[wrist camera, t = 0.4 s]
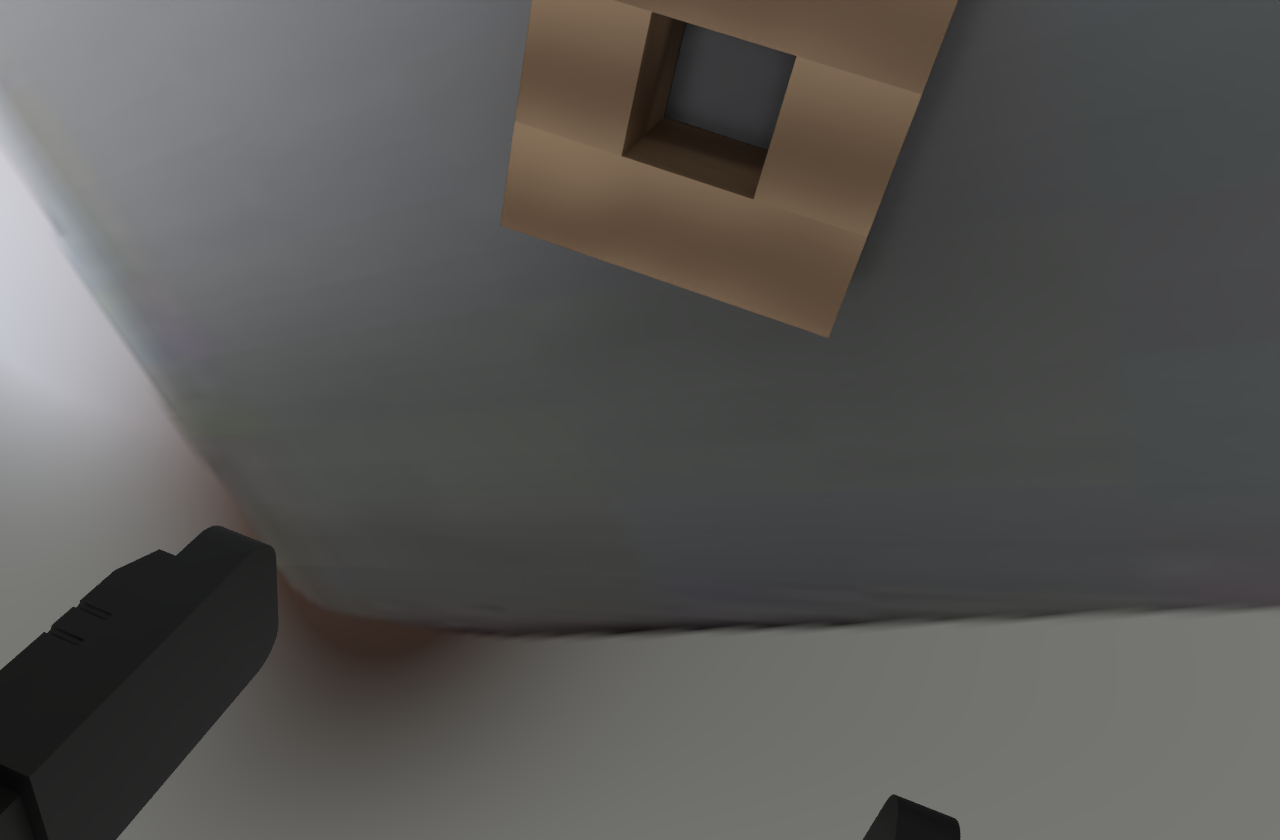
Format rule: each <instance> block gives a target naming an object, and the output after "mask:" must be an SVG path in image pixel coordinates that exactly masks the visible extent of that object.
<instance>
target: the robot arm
mask: <svg viewBox="0 0 1280 840" xmlns="http://www.w3.org/2000/svg"><path fill="white" fill-rule="evenodd" d="M277 632H278V597H277V570H276V553H275V551H274V549H273V547H271V546H270V545H267V544H265V543H262V542H260V541H257V540H255V539H252V538H250V537H247V536H244V535H242V534H239V533H237V532H234V531H232V530H229V529H227V528H224V527H222V526H212V527H210V528H207V529H206V530H204V531H203V532H202V533H200V534H199V535H198V536H197V537H196V538H195V539H194V540H193V541H192V542H190V544H188V545H187V546H186V547H185V548H184V549H183V550H182V551H181V552H180V553H179V554H177V555H176V556H175V555H172V554H170V553H167V552H165V551H162V550H160V549H159V550H157V551H155V552H153V553H151V554H149V555H147V556H144V557H142V558H140V559H138V560H136V561H134V562H132V563H129V564H127V565H125V566H123V567H121V568H119V569H117V570H115V571H114V572H112V573H111V574H110V575H109V576H108V577H107V578H105V579H104V580H103V581H102V582H101V583H100V584H99V585H97V586H96V587H95V588H94V589H93V590H92V591H91V592H90V593H88V594H87V595H86V596H85V597H84V598H83V599H81V600H80V604H79V605H78V606H77V607H76V608H75V607H72V608H71V609H70V610H69V611H68V612H67V613H65V614H64V615H63V616H62V617H61V618H60V619H58V621H56V622H55V623H54V624H53V625H52V627H51V630H50V631H49V632H48V633H45V632H44V633H43V634H41V635H40V636H39V637H38V638H37V639H36V640H35V641H33V642H32V643H31V644H30V645H29V646H28V647H27V648H25V649H24V650H23V651H22V652H21V653H20V654H18V655H17V656H16V657H15V658H14V659H13V660H12V661H10V662H9V663H8V664H7V665H6V666H5V667H4V668H2V669H1V670H0V840H116V839H117V838H118V836H119V835H120V834H121V833H122V832H123V831H124V829H125V828H126V827H127V826H128V825H129V824H130V822H131V821H132V820H133V819H134V818H135V816H136V815H137V814H138V813H139V812H140V810H141V809H142V808H143V807H144V806H145V805H146V804H147V802H148V801H149V800H150V799H151V798H152V796H153V795H154V794H155V793H156V792H157V791H158V789H159V788H160V787H161V786H162V785H163V783H164V782H165V781H166V780H167V779H168V777H169V776H170V775H171V774H172V773H173V772H174V771H175V769H176V768H177V767H178V766H179V765H180V763H181V762H182V761H183V760H184V759H185V758H186V756H187V755H188V754H189V753H190V752H191V750H192V749H193V748H194V747H195V746H196V744H197V743H198V742H199V741H200V740H201V739H202V737H203V736H204V735H205V734H206V733H207V731H208V730H209V729H210V728H211V727H212V726H213V724H214V723H215V722H216V721H217V720H218V719H219V717H220V716H221V715H222V714H223V713H224V711H225V710H226V709H227V708H228V707H229V706H230V704H231V703H232V702H233V701H234V700H235V699H236V697H237V696H238V695H239V694H240V692H241V691H242V690H243V689H244V688H245V687H246V686H247V684H248V683H249V682H250V680H252V678H253V677H254V676H255V675H256V674H257V672H258V671H259V670H260V668H261V667H262V666H263V664H264V663H265V661H266V659H267V658H268V656H269V654H270V652H271V650H272V647H273V645H274V642H275V639H276V636H277ZM863 840H960V827H959V823H958V821H957V820H956V819H955V818H953V817H950V816H948V815H945V814H943V813H940V812H937V811H935V810H932V809H929V808H927V807H925V806H922V805H920V804H917V803H915V802H912V801H910V800H907V799H904V798H902V797H899V796H897V795H891V796H890V797H889V798H888V800H887V801H886V803H885V804H884V806H883V808H882V809H881V811H880V812H879V814H878V816H877V817H876V819H875V821H874V822H873V824H872V825H871V827H870V829H869V830H868V832H867V834H866V835H865V837H864V838H863Z"/></svg>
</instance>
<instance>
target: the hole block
mask: <svg viewBox="0 0 1280 840" xmlns="http://www.w3.org/2000/svg"><path fill="white" fill-rule="evenodd" d="M957 2H958V0H532V4H531V11H530V18H529V25H528V32H527V39H526V46H525V53H524V61H523V68H522V75H521V82H520V89H519V96H518V103H517V110H516V117H515V124H514V132H513V139H512V146H511V153H510V160H509V167H508V174H507V181H506V188H505V195H504V203H503V210H502V217H501V224H500V225H501V226H504V227H507V228H510V229H513V230H516V231H519V232H522V233H525V234H527V235H530V236H533V237H536V238H539V239H542V240H545V241H548V242H551V243H554V244H557V245H559V246H562V247H565V248H568V249H571V250H574V251H577V252H580V253H583V254H586V255H589V256H591V257H594V258H597V259H600V260H603V261H606V262H609V263H612V264H615V265H618V266H620V267H623V268H626V269H629V270H632V271H635V272H638V273H641V274H644V275H647V276H650V277H652V278H655V279H658V280H661V281H664V282H667V283H670V284H673V285H676V286H679V287H682V288H684V289H687V290H690V291H693V292H696V293H699V294H702V295H705V296H708V297H711V298H714V299H716V300H719V301H722V302H725V303H728V304H731V305H734V306H737V307H740V308H743V309H746V310H748V311H751V312H754V313H757V314H760V315H763V316H766V317H769V318H772V319H775V320H777V321H780V322H783V323H786V324H789V325H792V326H795V327H798V328H801V329H804V330H807V331H809V332H812V333H815V334H818V335H821V336H824V337H827V338H829V335H830V333H831V330H832V328H833V325H834V322H835V320H836V317H837V315H838V312H839V309H840V307H841V304H842V302H843V299H844V296H845V294H846V291H847V289H848V286H849V283H850V281H851V278H852V276H853V273H854V270H855V268H856V265H857V263H858V260H859V257H860V255H861V252H862V250H863V247H864V244H865V242H866V239H867V236H868V234H869V231H870V229H871V226H872V223H873V221H874V218H875V216H876V213H877V210H878V208H879V205H880V203H881V200H882V197H883V195H884V192H885V190H886V187H887V184H888V182H889V179H890V177H891V174H892V171H893V169H894V166H895V164H896V161H897V158H898V156H899V153H900V151H901V148H902V145H903V143H904V140H905V137H906V135H907V132H908V130H909V127H910V124H911V122H912V119H913V117H914V114H915V111H916V109H917V106H918V104H919V101H920V98H921V96H922V93H923V91H924V88H925V85H926V83H927V80H928V78H929V75H930V72H931V70H932V67H933V65H934V62H935V59H936V57H937V54H938V52H939V49H940V46H941V44H942V41H943V39H944V36H945V33H946V31H947V28H948V25H949V23H950V20H951V18H952V15H953V12H954V10H955V7H956V5H957ZM686 22H687V23H690V24H693V25H697V26H700V27H703V28H706V29H710V30H713V31H716V32H719V33H723V34H726V35H729V36H733V37H736V38H739V39H742V40H746V41H749V42H752V43H755V44H759V45H762V46H765V47H768V48H772V49H775V50H778V51H781V52H785V53H788V54H791V55H795V56H797V57H796V60H795V63H794V67H793V70H792V73H791V77H790V80H789V83H788V86H787V90H786V93H785V96H784V100H783V103H782V106H781V110H780V113H779V116H778V120H777V123H776V126H775V130H774V133H773V136H772V140H771V143H770V146H769V150H765V149H762V148H759V147H756V146H753V145H750V144H746V143H743V142H740V141H737V140H734V139H731V138H728V137H725V136H721V135H718V134H715V133H712V132H709V131H706V130H703V129H700V128H697V127H693V126H690V125H687V124H684V123H681V122H678V121H675V120H672V119H668V118H665V117H664V115H665V111H666V106H667V102H668V98H669V93H670V89H671V85H672V80H673V76H674V72H675V67H676V63H677V59H678V55H679V50H680V46H681V42H682V37H683V33H684V29H685V24H686Z"/></svg>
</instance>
